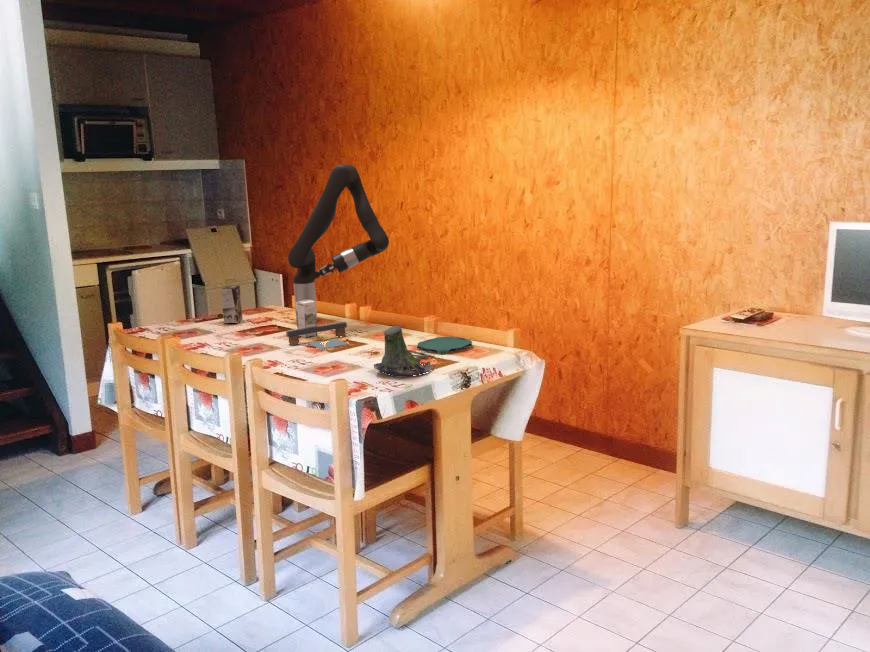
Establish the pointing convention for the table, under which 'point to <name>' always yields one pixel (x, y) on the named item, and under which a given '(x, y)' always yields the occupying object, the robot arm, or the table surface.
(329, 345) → the slate mat
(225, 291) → the coffee box
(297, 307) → the syrup box
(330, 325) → the crossbar
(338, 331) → the bar stand
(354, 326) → the table surface
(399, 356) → the tree stump
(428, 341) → the teal irregular flat slab
